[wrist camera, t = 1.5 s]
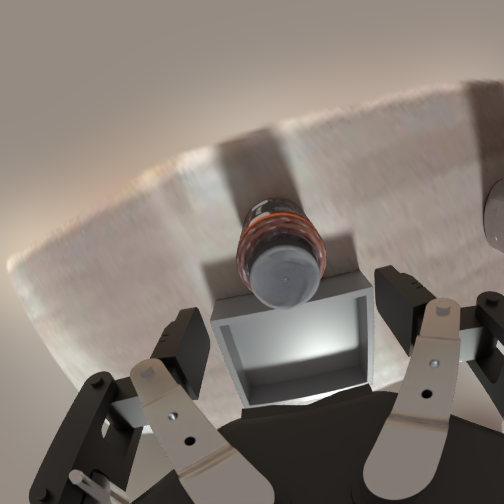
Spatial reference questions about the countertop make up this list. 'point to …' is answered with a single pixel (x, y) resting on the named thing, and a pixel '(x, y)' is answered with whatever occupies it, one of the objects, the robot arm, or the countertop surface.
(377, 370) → the countertop surface
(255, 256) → the supplement bottle
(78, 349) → the countertop surface
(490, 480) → the robot arm
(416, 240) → the countertop surface
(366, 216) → the countertop surface
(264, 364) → the bin
